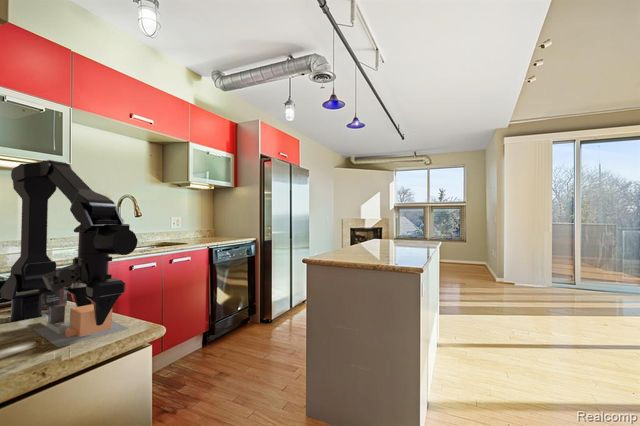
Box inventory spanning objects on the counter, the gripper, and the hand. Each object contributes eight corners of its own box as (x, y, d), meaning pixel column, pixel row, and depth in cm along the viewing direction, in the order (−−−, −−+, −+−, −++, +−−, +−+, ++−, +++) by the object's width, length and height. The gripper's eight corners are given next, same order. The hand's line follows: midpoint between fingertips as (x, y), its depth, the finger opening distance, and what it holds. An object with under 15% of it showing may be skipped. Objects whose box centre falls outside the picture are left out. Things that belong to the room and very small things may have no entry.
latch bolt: (36, 317, 71) (36, 300, 71) (49, 315, 73) (50, 298, 73) (50, 326, 66) (51, 307, 66) (64, 323, 68) (65, 305, 68)
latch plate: (32, 334, 68) (33, 324, 68) (99, 319, 79) (99, 310, 79) (57, 352, 59) (58, 341, 59) (129, 332, 70) (129, 323, 70)
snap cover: (60, 332, 66) (62, 309, 67) (100, 323, 73) (101, 302, 73) (71, 338, 63) (72, 314, 63) (111, 328, 69) (112, 306, 69)
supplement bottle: (64, 303, 92) (65, 266, 92) (68, 307, 88) (70, 268, 88) (37, 307, 87) (39, 268, 88) (41, 311, 83) (43, 271, 84)
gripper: (34, 252, 67) (30, 322, 67) (64, 259, 57) (60, 342, 57) (92, 249, 77) (89, 310, 76) (127, 254, 66) (124, 325, 66)
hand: (90, 320), depth 69 cm, fingers open, 9 cm apart
